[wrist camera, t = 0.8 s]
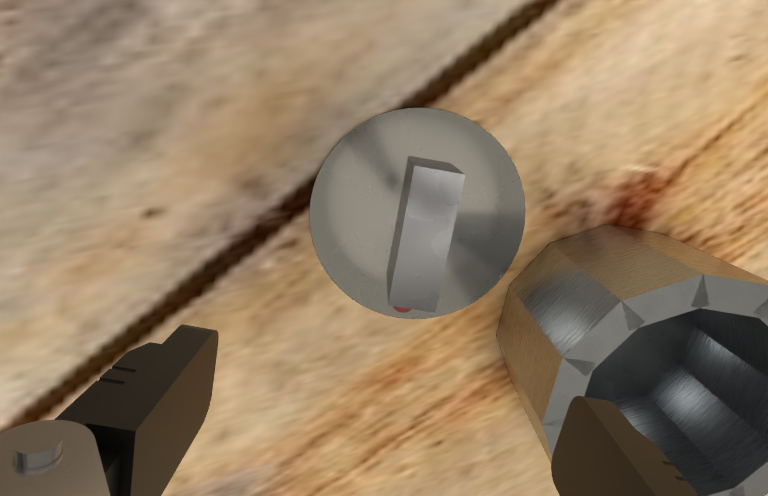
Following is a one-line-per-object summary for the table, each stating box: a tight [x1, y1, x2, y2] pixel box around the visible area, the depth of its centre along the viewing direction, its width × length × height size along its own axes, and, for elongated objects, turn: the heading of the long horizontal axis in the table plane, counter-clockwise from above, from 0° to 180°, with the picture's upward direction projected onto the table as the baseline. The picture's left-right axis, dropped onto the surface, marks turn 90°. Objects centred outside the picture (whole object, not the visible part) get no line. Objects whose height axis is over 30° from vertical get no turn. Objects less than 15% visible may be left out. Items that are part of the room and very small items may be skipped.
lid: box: [309, 108, 525, 319], centre depth 26 cm, size 12×12×6 cm
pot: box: [496, 224, 768, 496], centre depth 26 cm, size 13×13×9 cm
